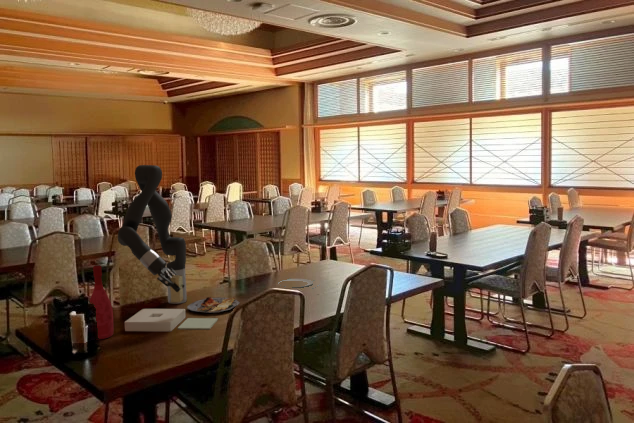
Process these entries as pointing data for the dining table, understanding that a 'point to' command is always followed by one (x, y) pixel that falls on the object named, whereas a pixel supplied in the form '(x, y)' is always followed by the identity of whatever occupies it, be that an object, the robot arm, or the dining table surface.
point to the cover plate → (155, 320)
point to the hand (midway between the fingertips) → (181, 289)
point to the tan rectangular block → (179, 295)
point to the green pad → (198, 323)
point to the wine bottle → (102, 306)
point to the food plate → (213, 304)
